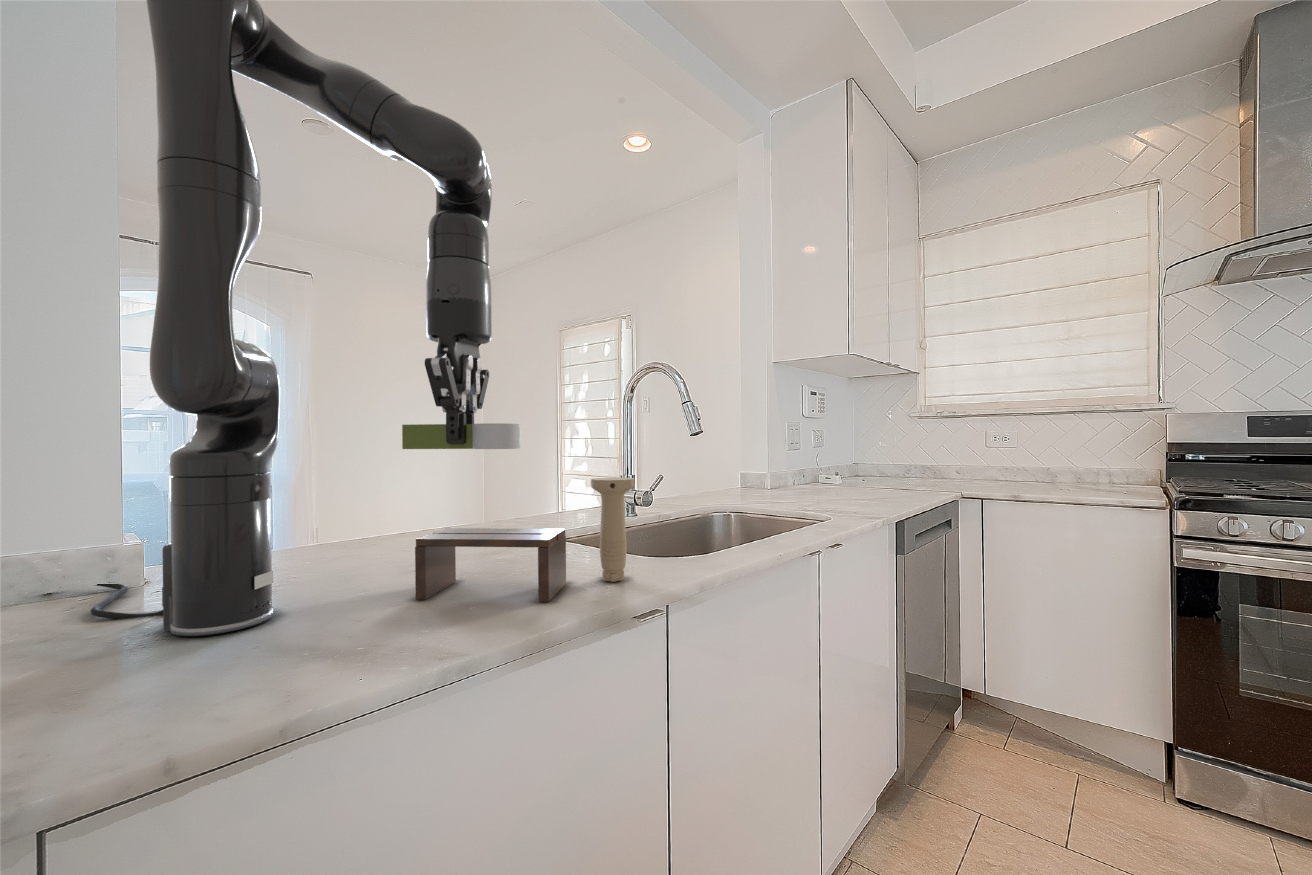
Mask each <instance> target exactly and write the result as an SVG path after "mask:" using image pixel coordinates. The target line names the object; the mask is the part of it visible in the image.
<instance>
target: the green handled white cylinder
mask: <svg viewBox="0 0 1312 875" xmlns="http://www.w3.org/2000/svg"><path fill="white" fill-rule="evenodd" d="M401 433H402V434H401V436H402V438H401V442H402V443H401V445H402V450H514V449H515V450H516V449H517V450H518V449H521V424H520V423H504V422H503V423H497V422H495V423H488V422H487V423H474V424H466V442H465V443H464V444H448V443H447V442H446V423H438V424H437V423H434V424H433V423H430V424H429V423H428V424H427V423H426V424H425V423H424V424H422V423H421V424H417V423H416V424H413V423H412V424H411V423H410V424H402V425H401Z"/></svg>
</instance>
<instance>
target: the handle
mask: <svg viewBox="0 0 1312 875" xmlns="http://www.w3.org/2000/svg"><path fill="white" fill-rule="evenodd" d="M634 487H635V478H634V477H594V478H590V488H592V489H593V490H594V491H596V492H598V493H599V494H600V499H601V500H600V501H601V505H600V506H601V507H600V527H599V558H600V559H599V560H600V565H601V566H600V567H601V569H602V571H601V572H602V573H601V575H602V579H603V581H604V582H612V583H616V582H622V581H623V580H624V579H625V568H626V564H627V563H626V562H627V552H628V551H627V550H628V548H627V544H628V543H627V528H626V513H625V511H626V510H625V494H626V493H628V492H629V491H630V490H632V489H633V488H634Z"/></svg>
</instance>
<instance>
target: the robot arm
mask: <svg viewBox="0 0 1312 875" xmlns="http://www.w3.org/2000/svg"><path fill="white" fill-rule="evenodd" d="M145 1H146V2H145V3H146V8H147V16H148V21H149V22H148V23H149V28H150V35H151V41H152V42H151V43H152V48H153V56H154V67H155V86H156V87H155V88H156V89H155V91H156V118H157V119H156V120H157V153H156V158H157V159H156V171H157V172H156V182H157V183H156V185H157V187H156V189H157V205H158V206H157V207H158V226H159V227H158V280H157V292H156V300H155V309H154V317H153V326H152V334H151V342H150V348H149V373H150V374H149V376H150V380H151V384H152V387H153V390H154V392H155V394H156V395H157V397H158V398H159V399H160V400H161V401H162V402H163V404H165V406H167V407H169V408H171V409H172V410H174V411H176V412H178V413H181V414H182V413H183V414H185V415H191V416H192V415H193V416H196V424H195V431H194V433H193V435H192V436H191V438H190V440H188V442H186V443H185V444H183V445H182V446H181V447H179V448H177V449H175V450H174V451H173V452H172V453H171V455H170V457H169V499H170V500H169V501H170V502H169V503H170V504H169V505H170V506H169V508H170V543H166V544H164V545H163V547H162V554H161V555H162V587H161V593H162V594H161V603H162V604H161V605H162V606H161V607H162V610H158V611H154V612H147V613H146V612H145V613H129V612H118V611H110V610H103V609H104V608H106V607H107V606H109V605H110V604H112V603H113V602H114V601H115V600H116V599H118V598H119V597H121V596H123V595H125V594H126V593H127V592H128V591H129V586H127V584H126V585H125V584H122V583H118V584H97V585H95V586H96V587H102V588H103V587H104V588H109V589H113V590H117V591H115V592H113V593H111V594H110V595H108V596H107V597H106V598H105V599H103V600H102V601H100V602H99V603H97V604H95V605H94V606H92V608H91V609H90V614H91V615H92V616H94V617H98V618H103V619H110V620H126V619H137V618H145V617H157V616H162V625H163V626H162V630H163V631H168V632H170V633H171V634H172V635H176V636H178V637H179V636H181V637H202V636H203V637H204V636H212V635H220V634H225V633H230V632H235V631H240V630H243V629H247V628H250V627H254V626H256V625H259V624H262V623H263V622H266V621H268V620H269V619H271V618H272V617H273V615H274V606H273V586H272V585H273V584H274V570H273V565H272V564H273V561H272V560H273V559H272V558H273V556H272V551H273V550H272V548H273V547H272V490H271V489H272V486H271V485H272V482H271V481H272V480H271V479H272V478H271V477H272V476H271V474H272V473H271V464H272V458H273V456H274V455H275V452H276V450H277V446H278V444H279V443H278V442H279V430H280V409H281V408H280V407H281V406H280V405H281V385H280V376H279V372H278V368H277V366H276V364H275V361H274V360H273V358H272V357H271V356H270V354H269V353H268V352H267V351H265V349H263V348H262V347H260V346H258V345H255V344H253V343H250V342H248V341H244V340H240V339H237V338H235V332H234V331H235V330H234V318H233V316H234V314H233V313H234V312H233V300H234V289H235V284H236V280H237V278H238V276H239V274H240V272H241V270H242V268H243V266H244V264H245V262H246V261H247V259H248V258H249V255H250V254H251V252H252V251H253V248H254V247H255V244H256V242H257V240H258V237H259V235H260V231H261V226H262V180H261V171H260V166H259V161H258V156H257V154H256V150H255V147H254V144H253V141H252V137H251V134H250V131H249V129H248V125H247V123H246V119H245V117H244V114H243V111H242V108H241V105H240V101H239V99H238V96H237V91H236V87H235V83H234V76H233V72H234V73H236V74H238V75H241V76H243V77H246V78H248V79H250V80H253V81H255V82H257V83H260V84H262V85H264V86H267V87H269V88H270V89H273V90H274V91H277V92H279V93H281V94H283V95H285V96H287V97H289V98H291V99H293V100H294V101H296V102H298V103H300V104H302V105H304V106H306V107H307V108H309V109H310V110H312V111H314V112H315V113H317V114H319V115H320V116H322V117H324V118H325V119H327V120H328V121H329V122H332V123H333V124H334V125H336V126H338V127H339V128H340V129H342V130H343V131H344V132H345V131H346V132H347V133H348V134H350V135H351V136H353V137H355V138H356V139H358V140H359V141H360V142H363V143H364V144H366V145H367V146H368V147H370V148H372V149H374V150H375V151H377V152H379V153H380V154H382V155H383V156H385V157H387V158H389V159H391V160H394V161H398V162H402V161H407V162H409V163H410V164H412V165H414V166H415V167H417V168H418V169H420V170H422V171H423V172H424V173H426V174H427V175H428V176H429V177H430V179H431V181H432V182H433V184H434V188H435V214H434V215H433V216H432V217H431V219H430V220H429V223H428V230H427V231H428V233H427V262H428V263H427V272H426V280H425V284H426V285H425V286H426V287H425V289H426V290H425V304H426V305H425V306H426V307H425V312H426V324H425V325H426V337H427V338H428V339H429V340H430V341H432V342H434V343H437V347H436V356H434V357H425V359H424V367H425V371H426V374H427V378H428V382H429V386H430V389H431V393H432V397H433V400H434V404H435V406H436V407H438V408H440V407H441V408H442V412H443V413H445V424H446V442H447V443H448V444H464V443H465V442H466V424H475V414H477V412H478V410H481V409H483V406H484V401H485V396H486V393H487V388H488V384H489V380H490V371H489V369H482V368H483V367H482V359H481V354H480V346H481V345H485V344H488V343H489V342H491V340H492V337H493V336H492V330H493V329H492V283H491V282H492V281H491V275H490V249H489V248H490V246H489V245H490V242H489V223H490V218H491V208H492V197H493V195H492V194H493V186H492V185H493V184H492V176H491V175H492V174H491V170H490V167H489V165H488V161H487V158H486V155H485V153H484V149H483V147H482V145H481V143H480V142H479V140H478V139H477V138H476V136H474V134H473V133H472V132H471V131H469V130H468V129H467V128H466V127H464V126H463V125H462V124H461V123H460V122H459V123H458V122H457V121H455V120H454V119H452V118H450V117H448V116H446V115H444V114H441V113H439V112H436V111H434V110H432V109H429V108H427V107H424V106H422V105H418V104H415V103H412V102H411V101H410V100H409V99H407V98H406V97H405V96H403V95H401V94H400V93H399V92H397V91H395V90H394V89H392V88H391V87H389V86H388V85H386V84H384V83H383V82H381V81H380V80H378V79H377V78H375V77H374V76H372V75H370V74H369V73H366V72H365V71H363V70H361V69H359V68H357V67H355V66H353V65H349V64H347V63H344V62H341V61H337V60H335V59H334V60H333V59H329V58H326V57H324V56H321V55H318V54H317V53H315V52H312V50H309V49H308V48H306V47H305V46H303V45H301V44H300V43H299V42H297V41H296V40H295V39H294V38H293V37H291V36H290V35H289V34H288V33H286V32H285V31H284V30H283V29H282V28H280V26H279V25H277V24H276V23H275V22H274V21H273V20H272V19H271V18H270V17H268V15H267V14H266V13H265V11H264V9H263V8H262V6H261V5H260V2H259V1H258V0H145Z"/></svg>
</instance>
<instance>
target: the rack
mask: <svg viewBox="0 0 1312 875" xmlns="http://www.w3.org/2000/svg"><path fill="white" fill-rule="evenodd" d="M461 547H462V548H537V582H538V583H537V585H538V586H537V588H538V590H537V592H538V603H549V602H550V601H551V600H552V599H553V598H554V597H555V596H556V595H558V593H559V592H560V591H561V590H562V589H563V588H564V587H565V585H567V536H566V528H496V527H495V528H493V527H491V528H484V527H483V528H482V527H481V528H480V527H478V528H476V527H475V528H474V527H473V528H472V527H467V528H466V527H464V528H463V527H445V528H442V529H439V530H437V531H435V532H434V531H433V532H432V533H428V534H426V535H423V536H420V537H417V538H415V546H414V562H415V563H414V564H415V565H414V568H415V570H414V572H415V575H414V576H415V578H414V580H415V584H414V585H415V600H417V601H419V600H420V601H421V600H422V601H426V600H428V599H429V598H431V597H433V596H435V595H436V594H438V593H440V592H441V591H443V590H444V589H446V588H448V587H449V586H450V587H451V585H453V584H455V583H456V582H457V572H456V570H457V568H456V566H457V564H456V562H457V561H456V560H457V558H456V548H461Z"/></svg>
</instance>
